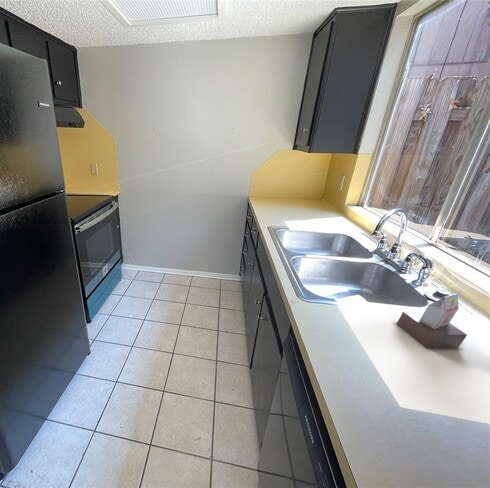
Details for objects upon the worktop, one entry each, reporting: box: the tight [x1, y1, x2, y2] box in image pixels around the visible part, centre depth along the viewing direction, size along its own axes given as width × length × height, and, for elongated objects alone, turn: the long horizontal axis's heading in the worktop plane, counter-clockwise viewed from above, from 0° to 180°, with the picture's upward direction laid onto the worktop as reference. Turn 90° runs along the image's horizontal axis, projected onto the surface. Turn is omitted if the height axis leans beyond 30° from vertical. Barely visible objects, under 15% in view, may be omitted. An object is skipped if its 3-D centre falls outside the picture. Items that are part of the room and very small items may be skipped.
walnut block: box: [396, 311, 468, 349], centre depth 78 cm, size 10×10×5 cm
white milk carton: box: [420, 293, 460, 329], centre depth 75 cm, size 4×7×10 cm, turn 109°
